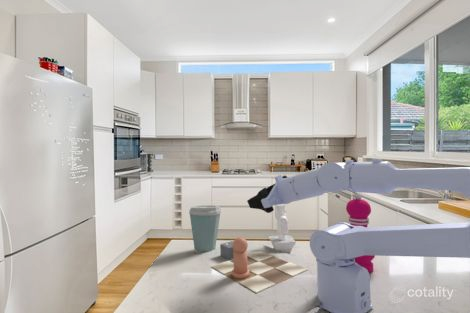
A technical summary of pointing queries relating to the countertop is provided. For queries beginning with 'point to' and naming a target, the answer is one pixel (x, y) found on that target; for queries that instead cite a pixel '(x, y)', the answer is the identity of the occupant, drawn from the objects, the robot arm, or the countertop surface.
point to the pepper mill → (359, 217)
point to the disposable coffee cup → (204, 226)
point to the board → (262, 271)
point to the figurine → (282, 231)
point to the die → (227, 250)
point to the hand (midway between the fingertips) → (258, 198)
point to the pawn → (240, 259)
